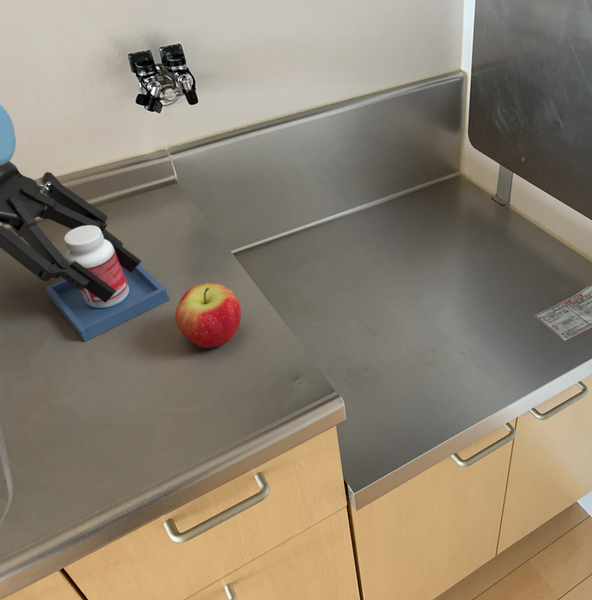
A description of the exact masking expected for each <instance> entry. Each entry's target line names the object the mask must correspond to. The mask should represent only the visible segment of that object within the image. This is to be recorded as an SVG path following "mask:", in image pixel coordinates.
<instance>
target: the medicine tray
mask: <svg viewBox="0 0 592 600" xmlns="http://www.w3.org/2000/svg"><path fill="white" fill-rule="evenodd" d="M121 268H122V271H123V273H124V276H125V278H126V281H127V284H128V287H129V293H128V295H127V297H126V298H125V299H124V300H123V301H121V302H120V303H118V304H116V305H114V306H112V307H108V308H95V307H92V306H90V305H88V304H87V303H86V301H85V299H84V297H83V295H82V293H81V291H80V289H78V288H76V287H75V286H74V285H72V284H71V283H69V282H68V281H66V280H65V279H64V278H63V279H61V280H59V281H56V282H54V283H52V284H50V285H47V286H45V287H44V288H45V291H46V293H47V295H48V297H49V299H50V300H51V301H52V303H53V304H54V305H55V306H56V307H57V309H58V310H59V312H61V314H62V315H63V316H64V318H65V319H66V321H68V323H69V324H70V325H71V326H72V327H73V329H74V330H75V331H76V332H77V333H78V335H79V336H80V337H81V339H82V340H83V341H84V342H88V341H89V340H92V339H94V338H96V337H97V336H100V335H101V334H103V333H106V332H108V331H109V330H112V329H114V328H116V327H118V326H119V325H121V324H123V323H126V322H128V321H130V320H131V319H134V318H136V317H138V316H140V315H142V314H144V313H146V312H148V311H149V310H152V309H154V308H157V307H158V306H159V305H162V304H164V303H166V302H168V301H170V298H169V295H168V292H167V289H166V288H165V287H164V286H163V285H162V284H161V283H160V282H159V281H158V280H157V279H156V278H155V277H154V276H153V275H151V274H150V272H149V271H147V270H146V269H145V268H144V267H143V266H142V265H141V263H140V264H139V265H138V266H137V267H136V268H135V269H134V270H133V271H132V272H131V273H130V272H129V271H128V270H126V269H125V268H124V267H122V266H121Z"/></svg>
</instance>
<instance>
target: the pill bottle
mask: <svg viewBox="0 0 592 600" xmlns="http://www.w3.org/2000/svg"><path fill="white" fill-rule="evenodd" d="M64 243H65V246H66V248H67V249H68V250H67V251H66V253H65V259H66V260H67V261H68V263H69V266H70V265H71V264H72V263H73V262H74V261H76V262H77V263H79V264H80V265H82V266H83V267H84V268H86V269H87V270H89V271H90V272H91V273H93V274H94V275H95V276H97V277H98V278H100V279H101V280H102V281H104V282H105V283H106V284H108V285H109V286H111V287H112V288H113V289H115V290H116V292H115V293H114V294H113V296H112V297H111V298H110V299H109V300H108V301H107V302H106V303H105V302H103V301H102V300H101V299H99V298H98V297H96V296H95V295H94V294H92V293H91V292H89V291H88V290H87V289H85V288H83V290H80V291H81V293H82V295H83V297H84V299H85V301H86V303H87V304H88V305H90V306H92V307H95V308H108V307H112V306H114V305H116V304H118V303H120V302H121V301H123V300H124V299H125V298H126V297H127V295H128V293H129V287H128V284H127V281H126V278H125V276H124V273H123V271H122V268H121V265H120V263H119V260H118V258H117V255H116V253H115V250H114V248H113V245H112V244H111V243H110V242H109V241H108V240H106V239H104V236H103V234H102V232H101V230H100V228H99V227H97V226H93V225H86V226H81V227H77V228H75V229H73V230H72V229H70V230H69V231H68V232H67V233H66V234H65V235H64Z"/></svg>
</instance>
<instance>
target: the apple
mask: <svg viewBox="0 0 592 600" xmlns="http://www.w3.org/2000/svg"><path fill="white" fill-rule="evenodd" d="M174 316H175V317H174V318H175V324H176V326H177V328H178V330H179V331H180V333H181V334H182V336H184V337H185V338H186V339H187V340H188V341H189V342H191V343H193V344H194V345H196V346H197V347H201V348H204V349H205V348H206V349H211V348H217V347H220V346H223V345H225V344H227V343H229V342H230V341H231V339H232V338H233V337H235V335H236V333H237V331H238V330H239V329H238V328H239V326H240V323H241V319H242V309H241V304H240V300H239V299H238V296H236V293H234V292H233V291H232V290H231V289H230V288H228V287H227V286H226V285H223V284H220V283H217V282H204V283H201V284H197V285H194V286H192V287H190V288H189V289H188V290H187V291H185V292H184V294H183V295H182V296H181V298H180V300H179V301H178V303H177V306H176V309H175V314H174Z"/></svg>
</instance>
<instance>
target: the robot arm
mask: <svg viewBox="0 0 592 600" xmlns="http://www.w3.org/2000/svg"><path fill="white" fill-rule="evenodd" d="M9 114H10V113H8V111H7V110H6V108H5V107H4V106H3V105H2V104H1V103H0V249H2V250H3V251H4V252H5V253H7V254H8V255H9V256H10V257H12V258H13V259H15V260H16V262H18V263H19V264H21V265H22V266H23V267H25V268H26V269H27V270H28V271H30V272H31V273H32V274H33V275H34V276H35V277H37V278H38V279H40V280H41V281H43V282H49V281H50V279H56V280H58V279H60V278H62V279H63V280H64V279H65V280H66V281H68V282H69V283H71V284H72V285H74V286H75V287H76V288H78V289H80V290H83V288H85V289H87V290H88V291H89V292H91V293H92V294H94V295H95V296H96V297H98V298H99V299H101V300H102V301H103V302H105V303H106V302H107V301H108V300H109V299H110V298H111V297H112V296H113V294H114V293H115V292H116V290H115V289H113V288H112V287H111V286H109V285H108V284H106V283H105V282H104V281H102V280H101V279H100V278H98V277H97V276H95V275H94V274H93V273H91V272H90V271H89V270H87V269H86V268H84V267H83V266H82V265H80V264H79V263H77V262H76V261H74V262H73V263H72V264H71V265H70V266H69V263H68V261H67V259H66V257H64V255H63V254H62V253H61V252H60V251H59V249H58V248H57V247H56V246H55V245H54V243H53V242H52V240H50V238H48V236H47V235H46V233H44V231H43V230H42V229H41V228H40V227H39V225H38V221H37V220H36V219H37V218H40V219H43V220H50V221H52V222H54V223H57V224H59V225H60V226H63V227H66V228H68V229H70V230H73V229H75V228H77V227H81V226H86V225H93V226H97V227H99V228H100V230H101V232H102V234H103V236H104V239H106V240H108V241H109V242H110V243H111V244H112V245H113V248H114V250H115V253H116V255H117V258H118V260H119V263H120V265H121V266H122V267H124V268H125V269H126V270H128V271H129V272H130V273H131V272H132V271H133V270H134V269H135V268H136V267H137V266H138V265H139V264H140V265H141V262H142V260H141V259H140V258H138V257H137V256H136V255H134V254H133V253H132V252H131V251H129V250H127V248H126V247H124V246H123V245H124V243H123V242H122V241H121V239H119V238H117V237H116V236H115V235H113V234H112V233H110V232H109V231H108V230H107V229H106V228H107V227H108V224H107V220H108V219H109V218H108V216H107V214H105V213H104V212H102V211H101V210H100V209H98V208H97V207H95V206H93V204H91V203H89V202H88V201H86V200H85V199H84V198H82V197H81V196H80V195H78V194H76V193H75V192H73V191H72V190H70V188H68V187H67V186H65V185H63V184H62V183H61V182H60V181H59V180H58V179H57V177H56V175H54V174H53V173H52V172H49V171H46V172H44V174H43V175H42V177H38V178H35V179H33V178H31V177H28V176H25V175H24V174H22V173H21V172H20V171H19V169H18V167H17V166H16V165H15V164H14V163H13V162H11V159H12V158H13V156H14V154H15V151H16V145H17V142H16V141H17V139H16V133H15V126H14V123H13V121H12V118H11V116H10V115H9ZM4 225H8V226H10V228H11V229H12V230H13V231H14V232H15V233H14V232H13V231H12V230H11V229H8V228H7V227H6V226H4ZM21 238H22V239H21ZM23 239H24V240H23Z"/></svg>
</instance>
